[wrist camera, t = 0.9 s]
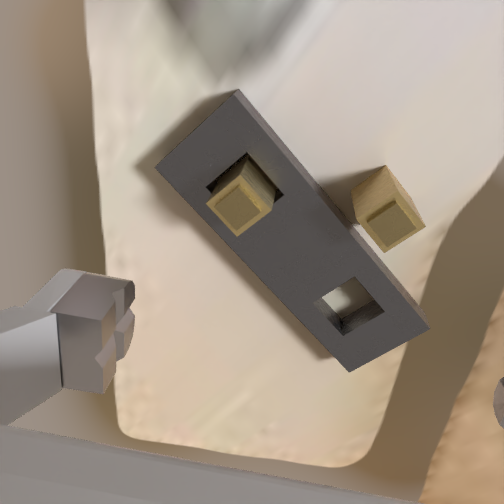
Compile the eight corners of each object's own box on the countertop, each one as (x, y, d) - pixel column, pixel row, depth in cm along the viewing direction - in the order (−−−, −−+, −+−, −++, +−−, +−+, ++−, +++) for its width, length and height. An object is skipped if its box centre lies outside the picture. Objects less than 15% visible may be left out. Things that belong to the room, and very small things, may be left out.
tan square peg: (250, 152, 44) (239, 177, 37) (277, 183, 45) (271, 213, 38) (220, 177, 45) (204, 206, 39) (247, 207, 46) (235, 239, 40)
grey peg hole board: (238, 88, 41) (233, 93, 39) (424, 311, 49) (430, 328, 47) (163, 158, 45) (154, 167, 42) (347, 354, 53) (349, 372, 51)
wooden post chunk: (386, 165, 43) (399, 193, 36) (410, 196, 44) (427, 229, 37) (350, 190, 44) (356, 222, 38) (374, 220, 45) (385, 256, 39)
